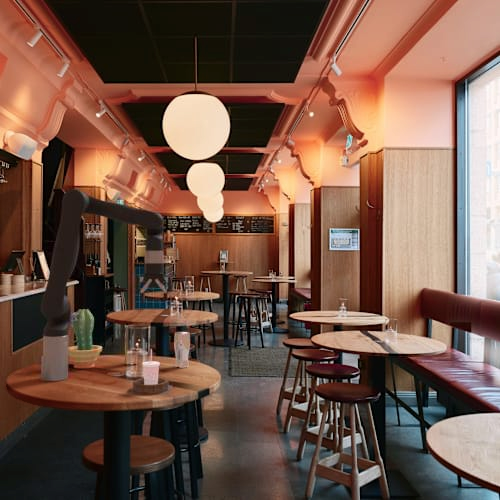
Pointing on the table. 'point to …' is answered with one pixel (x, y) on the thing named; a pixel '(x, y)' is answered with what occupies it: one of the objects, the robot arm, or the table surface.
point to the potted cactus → (83, 340)
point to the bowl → (150, 386)
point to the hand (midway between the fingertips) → (153, 302)
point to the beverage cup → (151, 372)
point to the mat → (157, 393)
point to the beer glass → (182, 348)
